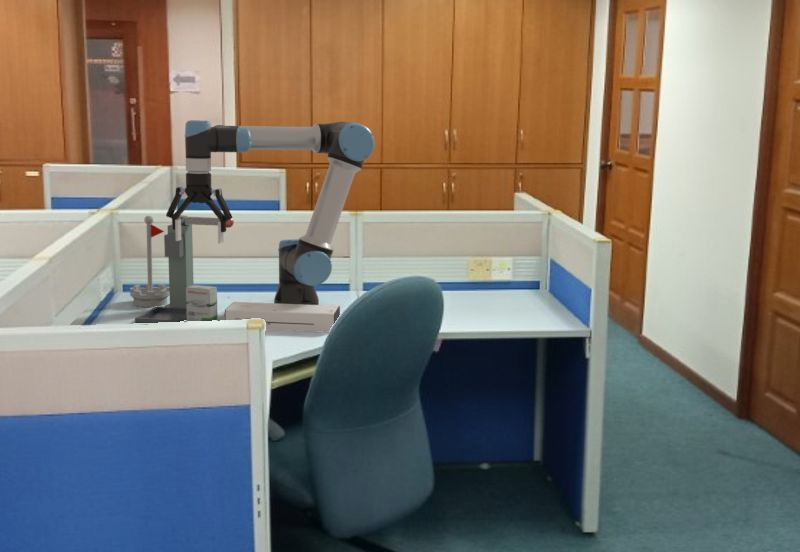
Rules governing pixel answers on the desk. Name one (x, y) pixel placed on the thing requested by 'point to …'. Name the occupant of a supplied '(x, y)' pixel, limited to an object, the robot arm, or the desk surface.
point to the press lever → (203, 221)
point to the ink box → (201, 303)
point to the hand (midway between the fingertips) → (199, 241)
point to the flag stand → (150, 276)
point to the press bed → (162, 315)
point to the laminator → (286, 315)
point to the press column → (179, 264)
